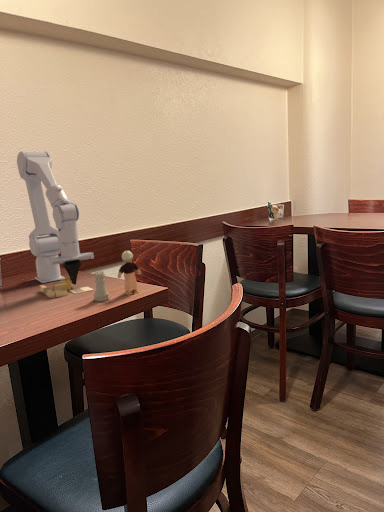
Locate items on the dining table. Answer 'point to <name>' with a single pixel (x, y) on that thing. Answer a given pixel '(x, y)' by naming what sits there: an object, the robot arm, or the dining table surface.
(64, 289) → the maple cube
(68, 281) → the alphabet block
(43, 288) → the backstop
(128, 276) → the grandmother figurine
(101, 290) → the rook chess piece
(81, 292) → the card
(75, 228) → the robot arm
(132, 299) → the dining table surface
